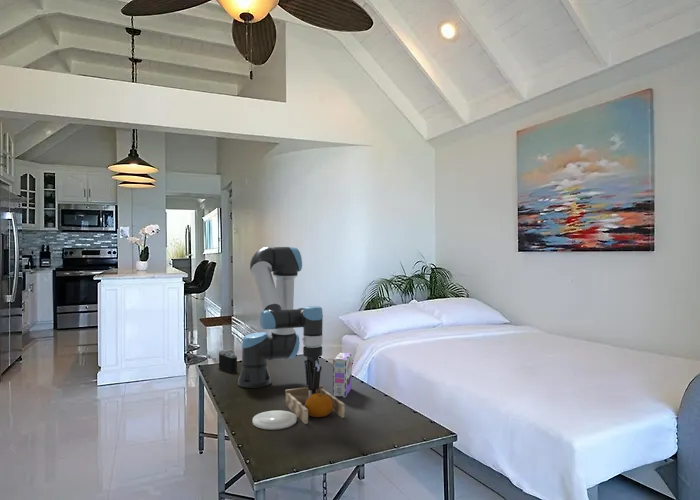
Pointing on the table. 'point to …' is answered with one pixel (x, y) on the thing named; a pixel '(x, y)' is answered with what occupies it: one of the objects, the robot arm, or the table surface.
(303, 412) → the oak open frame
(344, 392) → the candy box
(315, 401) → the fruit
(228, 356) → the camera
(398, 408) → the table surface
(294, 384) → the table surface
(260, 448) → the table surface
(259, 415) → the plate
